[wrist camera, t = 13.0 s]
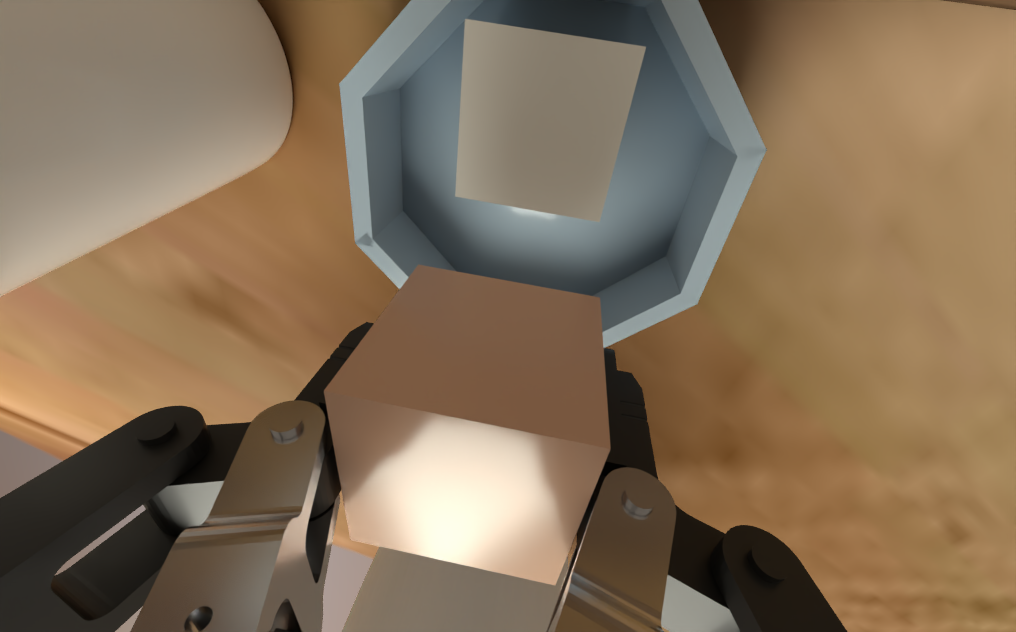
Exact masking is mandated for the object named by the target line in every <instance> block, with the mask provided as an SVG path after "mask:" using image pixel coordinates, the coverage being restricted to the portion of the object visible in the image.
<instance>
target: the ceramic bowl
mask: <svg viewBox="0 0 1016 632" xmlns="http://www.w3.org/2000/svg"><path fill="white" fill-rule="evenodd" d="M465 19H470V20H476V21H483V22H489V23H496V24H502V25H508V26H515V27H521V28H528V29H534V30H541V31H547V32H554V33H560V34H567V35H573V36H580V37H586V38H593V39H599V40H606V41H612V42H619V43H625V44H631V45H638V46H644V47H646V49H645V53H644V57H643V61H642V64H641V68H640V72H639V76H638V79H637V83H636V87H635V91H634V94H633V98H632V102H631V106H630V109H629V113H628V117H627V121H626V125H625V128H624V132H623V136H622V140H621V143H620V147H619V151H618V155H617V158H616V162H615V166H614V170H613V173H612V177H611V181H610V185H609V188H608V192H607V196H606V200H605V203H604V207H603V211H602V215H601V218H600V222H595V221H590V220H584V219H578V218H573V217H567V216H562V215H556V214H550V213H545V212H539V211H534V210H528V209H522V208H517V207H511V206H506V205H500V204H494V203H489V202H483V201H478V200H472V199H466V198H461V197H455V190H456V172H457V154H458V136H459V118H460V100H461V82H462V64H463V46H464V28H465ZM339 85H340V94H341V104H342V114H343V124H344V134H345V144H346V154H347V164H348V174H349V184H350V195H351V205H352V215H353V225H354V235H355V244H357V245H358V246H359V247H360V248H361V250H362V251H363V252H364V253H365V254H366V255H367V256H368V257H369V258H370V259H371V260H372V261H373V262H374V263H375V264H376V265H377V266H378V267H379V268H380V269H381V270H382V271H383V272H384V273H385V274H386V275H387V276H388V277H389V279H390V280H391V281H392V282H393V283H394V284H395V285H396V286H397V287H398V288H399V289H400V288H401V287H402V286H403V284H404V283H405V282H406V280H407V279H408V278H409V276H410V275H411V274H412V272H413V271H414V270H415V268H416V267H417V266H418V265H424V266H429V267H435V268H440V269H446V270H451V271H457V272H462V273H468V274H473V275H479V276H484V277H490V278H495V279H501V280H507V281H512V282H518V283H523V284H529V285H534V286H540V287H545V288H551V289H556V290H562V291H567V292H573V293H578V294H584V295H589V296H595V297H600V305H601V319H602V333H603V348H605V347H607V346H609V345H612V344H614V343H616V342H618V341H620V340H622V339H624V338H626V337H628V336H631V335H633V334H635V333H637V332H639V331H641V330H643V329H645V328H647V327H650V326H652V325H654V324H656V323H658V322H660V321H662V320H664V319H666V318H669V317H671V316H673V315H675V314H677V313H679V312H681V311H683V310H686V309H688V308H690V307H692V306H694V305H697V304H698V301H699V299H700V297H701V294H702V292H703V290H704V288H705V285H706V283H707V281H708V279H709V277H710V274H711V272H712V270H713V268H714V265H715V263H716V261H717V259H718V257H719V254H720V252H721V250H722V248H723V245H724V243H725V241H726V239H727V237H728V234H729V232H730V230H731V228H732V225H733V223H734V221H735V219H736V217H737V214H738V212H739V210H740V208H741V205H742V203H743V201H744V199H745V197H746V194H747V192H748V190H749V188H750V185H751V183H752V181H753V179H754V177H755V174H756V172H757V170H758V168H759V165H760V163H761V161H762V159H763V157H764V154H765V152H766V151H767V149H766V148H765V146H764V143H763V141H762V139H761V137H760V135H759V132H758V130H757V128H756V126H755V124H754V122H753V119H752V117H751V115H750V113H749V111H748V108H747V106H746V104H745V102H744V100H743V97H742V95H741V93H740V91H739V89H738V86H737V84H736V82H735V80H734V78H733V76H732V73H731V71H730V69H729V67H728V65H727V62H726V60H725V58H724V56H723V54H722V51H721V49H720V47H719V45H718V43H717V40H716V38H715V36H714V34H713V32H712V29H711V27H710V25H709V23H708V21H707V19H706V16H705V14H704V12H703V10H702V8H701V5H700V3H699V1H698V0H411V1H410V2H409V3H408V5H407V6H406V7H405V8H404V9H403V10H402V12H401V13H400V14H399V15H398V16H397V17H396V19H395V20H394V21H393V22H392V23H391V24H390V26H389V27H388V28H387V29H386V30H385V31H384V33H383V34H382V35H381V36H380V37H379V38H378V40H377V41H376V42H375V43H374V44H373V45H372V47H371V48H370V49H369V50H368V51H367V52H366V54H365V55H364V56H363V57H362V58H361V59H360V61H359V62H358V63H357V64H356V65H355V66H354V68H353V69H352V70H351V71H350V72H349V73H348V75H347V76H346V77H345V78H344V79H343V80H342V82H341V83H340V84H339Z"/></svg>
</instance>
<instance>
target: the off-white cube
mask: <svg viewBox="0 0 1016 632" xmlns="http://www.w3.org/2000/svg"><path fill="white" fill-rule="evenodd" d="M645 49H646V47H644V46H638V45H631V44H625V43H619V42H612V41H606V40H599V39H593V38H586V37H580V36H573V35H567V34H560V33H554V32H547V31H541V30H534V29H528V28H521V27H515V26H508V25H502V24H496V23H489V22H483V21H476V20H470V19H465V28H464V46H463V64H462V82H461V100H460V118H459V136H458V154H457V172H456V190H455V197H461V198H466V199H472V200H478V201H483V202H489V203H494V204H500V205H506V206H511V207H517V208H522V209H528V210H534V211H539V212H545V213H550V214H556V215H562V216H567V217H573V218H578V219H584V220H590V221H595V222H600V218H601V215H602V211H603V207H604V203H605V200H606V196H607V192H608V188H609V185H610V181H611V177H612V173H613V170H614V166H615V162H616V158H617V155H618V151H619V147H620V143H621V140H622V136H623V132H624V128H625V125H626V121H627V117H628V113H629V109H630V106H631V102H632V98H633V94H634V91H635V87H636V83H637V79H638V76H639V72H640V68H641V64H642V61H643V57H644V53H645Z"/></svg>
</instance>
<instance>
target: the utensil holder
mask: <svg viewBox="0 0 1016 632" xmlns="http://www.w3.org/2000/svg"><path fill="white" fill-rule="evenodd" d="M567 570H568V555H567V558H566V560H565V563H564V565H563V568H562V570H561V573H560V575H559V577H558V580H557V582H556V585H551V584H546V583H542V582H537V581H533V580H528V579H524V578H519V577H515V576H510V575H506V574H501V573H497V572H492V571H488V570H483V569H479V568H474V567H470V566H465V565H461V564H456V563H452V562H447V561H443V560H438V559H434V558H429V557H425V556H421V555H416V554H412V553H407V552H403V551H398V550H394V549H389V548H385V547H380V546H379V549H378V551H377V553H376V555H375V557H374V559H373V562H372V564H371V566H370V568H369V571H368V572H367V575H366V577H365V579H364V581H363V584H362V586H361V588H360V590H359V593H358V595H357V597H356V600H355V602H354V604H353V607H352V609H351V611H350V614H349V616H348V618H347V621H346V623H345V626H344V628H343V630H342V632H546V630H547V627H548V624H549V621H550V618H551V615H552V613H553V610H554V607H555V604H556V601H557V598H558V595H559V592H560V590H561V587H562V584H563V581H564V578H565V575H566V572H567Z"/></svg>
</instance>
